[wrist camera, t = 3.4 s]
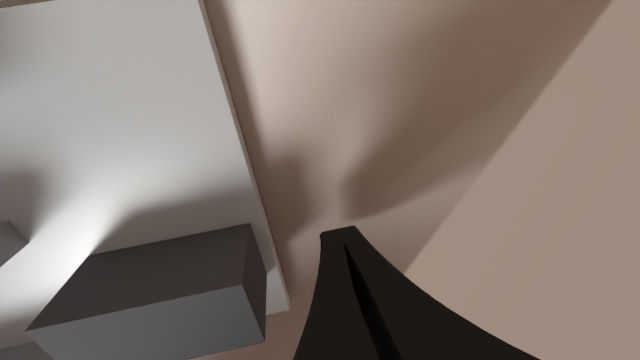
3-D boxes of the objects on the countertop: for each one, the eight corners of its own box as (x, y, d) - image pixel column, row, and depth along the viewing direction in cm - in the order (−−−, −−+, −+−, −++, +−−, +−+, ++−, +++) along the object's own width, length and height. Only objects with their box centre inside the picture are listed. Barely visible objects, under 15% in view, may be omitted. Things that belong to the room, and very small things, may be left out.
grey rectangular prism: (267, 274, 12) (265, 341, 9) (124, 304, 12) (80, 384, 9) (250, 222, 11) (242, 284, 8) (88, 255, 10) (24, 331, 8)
